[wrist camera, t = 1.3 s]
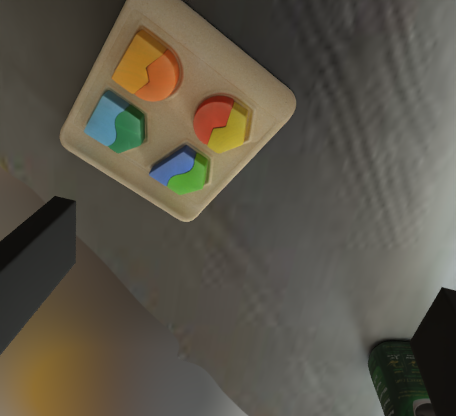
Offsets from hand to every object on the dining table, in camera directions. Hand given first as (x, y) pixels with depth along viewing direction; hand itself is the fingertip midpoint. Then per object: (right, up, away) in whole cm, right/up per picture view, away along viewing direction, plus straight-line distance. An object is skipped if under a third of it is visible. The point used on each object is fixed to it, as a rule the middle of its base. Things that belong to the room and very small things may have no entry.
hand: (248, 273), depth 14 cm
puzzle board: (-6, +12, +26) cm, 29 cm away
